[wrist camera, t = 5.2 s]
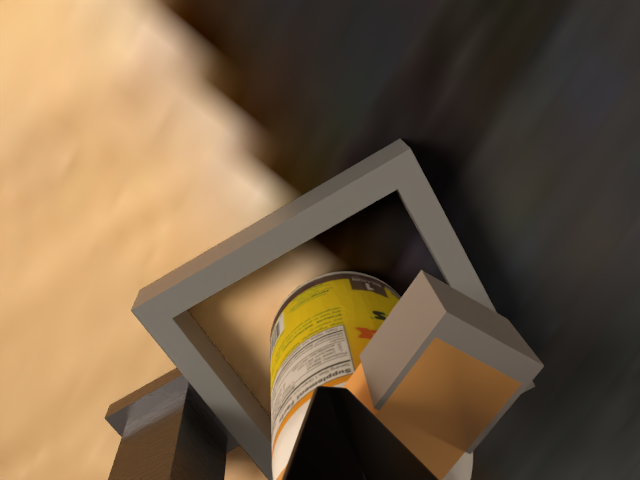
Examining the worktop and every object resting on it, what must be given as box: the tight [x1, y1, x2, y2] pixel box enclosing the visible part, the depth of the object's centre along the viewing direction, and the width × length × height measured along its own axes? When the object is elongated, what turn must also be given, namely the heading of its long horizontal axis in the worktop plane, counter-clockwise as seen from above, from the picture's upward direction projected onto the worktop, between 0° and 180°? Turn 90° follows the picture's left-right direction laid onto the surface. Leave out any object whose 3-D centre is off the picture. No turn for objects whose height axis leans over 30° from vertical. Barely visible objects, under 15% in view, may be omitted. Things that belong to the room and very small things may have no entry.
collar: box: [131, 139, 535, 480], centre depth 23 cm, size 11×11×2 cm
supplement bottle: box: [270, 271, 473, 480], centre depth 19 cm, size 6×6×10 cm
